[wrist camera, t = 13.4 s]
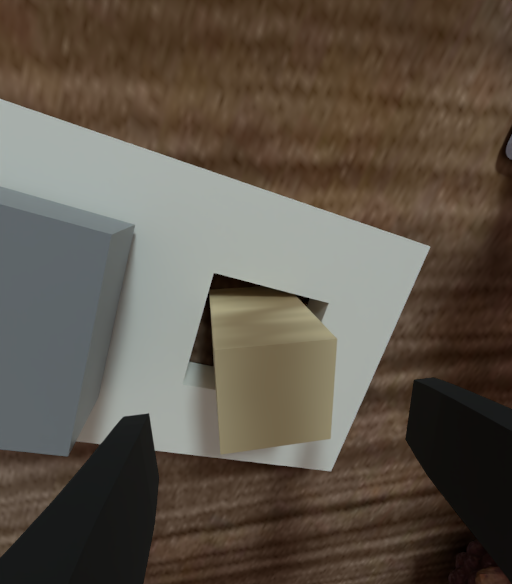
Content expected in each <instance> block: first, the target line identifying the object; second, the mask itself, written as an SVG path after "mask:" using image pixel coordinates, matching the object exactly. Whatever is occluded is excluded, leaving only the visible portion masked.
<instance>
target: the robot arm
mask: <svg viewBox="0 0 512 584" xmlns="http://www.w3.org/2000/svg"><path fill="white" fill-rule="evenodd" d="M506 155H507V157H508V158H509V159H511V160H512V135H511V137H510V139H509V142H508V144H507V147H506ZM406 441H407V443H408V444H409V446H410V448H411V449H412V451H413V453H414V455H415V456H416V458H417V460H418V461H419V463H420V464H421V466H422V467H423V469H424V471H425V472H426V474H427V475H428V477H429V478H430V479H431V481H432V482H433V483H434V485H435V486H436V487H437V489H438V490H439V491H440V492H441V494H442V495H443V496H444V498H445V499H446V500H447V501H448V503H449V504H450V505H451V507H452V508H453V509H454V510H455V512H456V513H457V514H458V515H459V517H460V518H461V519H462V521H463V522H464V523H465V524H466V526H467V527H468V528H469V529H470V531H471V532H472V533H473V535H474V536H475V537H476V538H477V540H478V541H479V542H480V543H481V545H482V546H483V547H484V549H485V550H486V551H487V552H488V554H489V555H490V556H491V557H492V559H493V560H494V561H495V562H496V564H497V565H498V566H499V568H500V569H501V570H502V572H503V573H504V574H505V576H506V577H507V578H508V580H509V581H510V582H511V584H512V409H510V408H508V407H506V406H503V405H501V404H499V403H496V402H494V401H492V400H489V399H487V398H485V397H482V396H480V395H478V394H475V393H473V392H471V391H468V390H466V389H463V388H461V387H458V386H456V385H453V384H451V383H448V382H445V381H443V380H440V379H437V378H434V377H433V378H425V379H417V380H414V383H413V390H412V397H411V404H410V411H409V418H408V426H407V433H406ZM158 483H159V475H158V468H157V462H156V455H155V449H154V442H153V436H152V429H151V423H150V416H149V413H148V414H140V415H132V416H124V417H123V418H122V419H121V420H120V421H119V422H118V423H117V424H116V426H115V427H114V428H113V429H112V431H111V432H110V433H109V434H108V436H107V437H106V438H105V439H104V441H103V442H102V443H101V444H100V445H99V447H98V448H97V449H96V450H95V452H94V453H93V454H92V455H91V456H90V458H89V459H88V460H87V461H86V463H85V464H84V465H83V466H82V467H81V469H80V470H79V471H78V472H77V473H76V474H75V476H74V477H73V478H72V479H71V480H70V481H69V483H68V484H67V485H66V486H65V487H64V488H63V490H62V491H61V492H60V493H59V494H58V496H57V497H56V498H55V499H54V500H53V501H52V502H51V503H50V505H49V506H48V507H47V508H46V509H45V510H44V511H43V512H42V513H41V514H40V516H39V517H38V518H37V519H36V520H35V521H34V522H33V523H32V524H31V525H30V526H29V528H28V529H27V530H26V531H25V532H24V533H23V534H22V535H21V536H20V537H19V538H18V540H17V541H16V542H15V543H14V544H13V545H12V546H11V547H10V548H9V549H8V550H7V551H6V552H5V553H4V554H3V555H2V556H1V558H0V584H143V582H144V577H145V572H146V567H147V562H148V556H149V551H150V546H151V541H152V536H153V530H154V525H155V516H156V506H157V495H158Z"/></svg>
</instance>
